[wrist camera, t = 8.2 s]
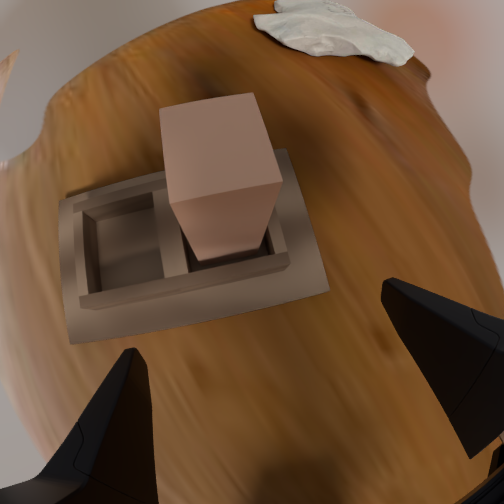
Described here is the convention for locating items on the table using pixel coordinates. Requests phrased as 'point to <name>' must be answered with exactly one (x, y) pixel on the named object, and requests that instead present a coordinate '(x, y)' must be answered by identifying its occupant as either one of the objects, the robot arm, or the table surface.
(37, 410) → the table surface
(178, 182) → the clay block
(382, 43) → the rock
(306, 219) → the rack
